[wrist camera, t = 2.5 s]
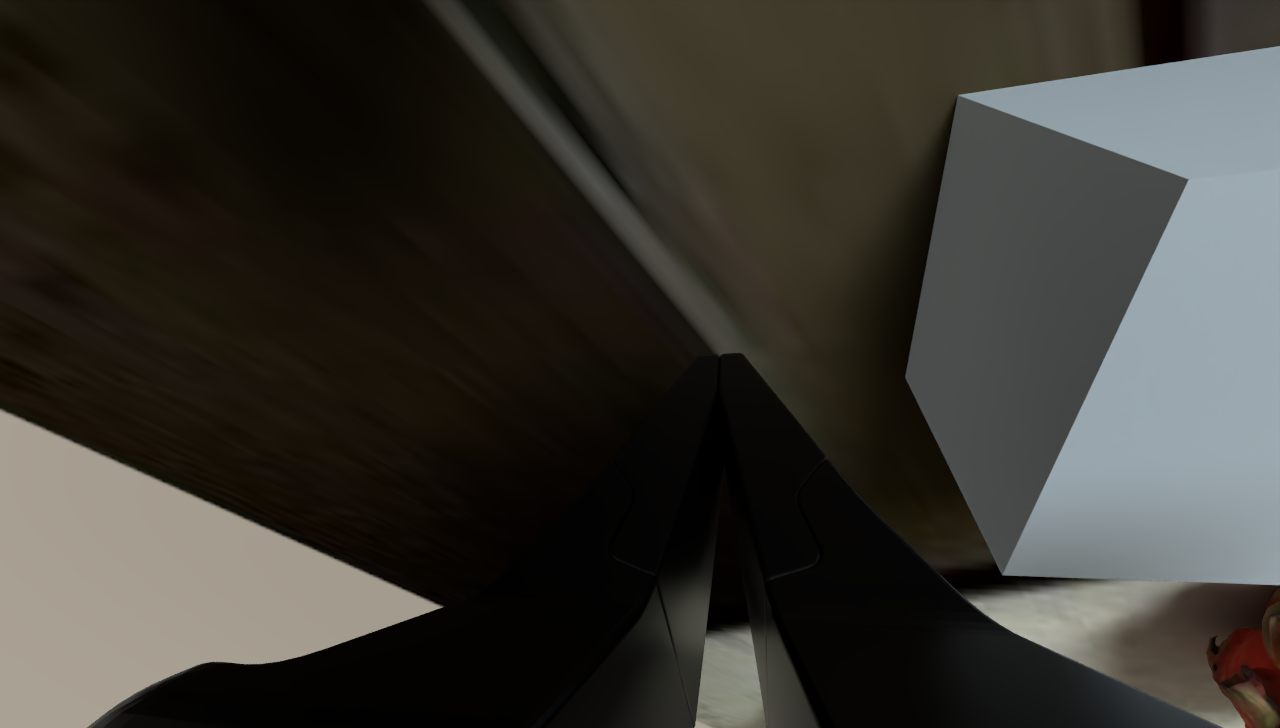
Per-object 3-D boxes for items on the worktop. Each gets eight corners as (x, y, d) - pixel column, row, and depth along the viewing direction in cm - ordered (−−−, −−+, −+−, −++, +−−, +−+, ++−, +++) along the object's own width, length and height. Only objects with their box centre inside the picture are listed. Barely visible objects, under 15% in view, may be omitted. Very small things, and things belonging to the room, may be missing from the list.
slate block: (1209, 362, 12) (1530, 594, 7) (903, 374, 13) (1002, 575, 9) (1420, 24, 8) (2442, 43, 3) (955, 94, 10) (1189, 179, 5)
